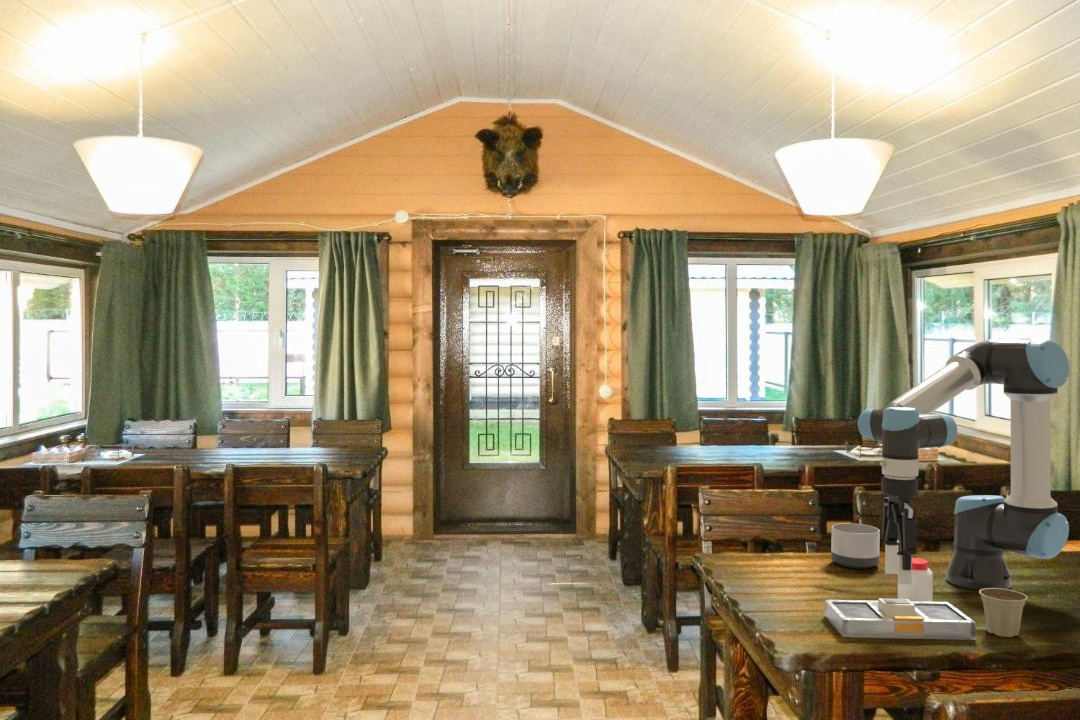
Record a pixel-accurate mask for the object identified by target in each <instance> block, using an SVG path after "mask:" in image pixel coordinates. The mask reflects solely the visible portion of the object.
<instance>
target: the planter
mask: <svg viewBox="0 0 1080 720" xmlns="http://www.w3.org/2000/svg"><path fill="white" fill-rule="evenodd" d="M880 532H881V530H880V529H879V528H877V527H875V526H873V525H868V524H862V523H846V522H845V523H837V524H833V525H832V526H831V541H830V542H831V548H830V553H831V555H830V559H831V560H832V561H833V562H834V563H836V564H838V565H840V566H842V567H844V568H848V569H854V568H855V569H858V570H863V569H864V570H865V569H871V568H873V567H875V566H878V565H879V563H880V545H881V544H880V543H881V542H880V538H881V537H880V536H881V535H880ZM855 569H854V570H855Z"/></svg>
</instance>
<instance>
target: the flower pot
mask: <svg viewBox="0 0 1080 720" xmlns="http://www.w3.org/2000/svg"><path fill="white" fill-rule="evenodd" d="M978 593H979V595H980V598H981V601H982V604H983V612H984V617H985V618H984V619H985V626H986V631H987V632H988V633H989V634H994V635H996V636H998V637H1003V638H1005V637H1006V638H1014V637H1015V636H1016V637H1018V636H1019V635H1020V634H1019V633H1020V627H1021V622H1022V615H1023V610H1024V607H1025V605H1026V601H1028V596H1027V595H1026V594H1025V593H1023V592H1019V591H1017V590H1016V591H1015V590H1012V589H1001V588H985V589H981V590H978Z"/></svg>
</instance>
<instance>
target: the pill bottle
mask: <svg viewBox="0 0 1080 720" xmlns="http://www.w3.org/2000/svg"><path fill="white" fill-rule="evenodd" d="M933 583H934V573H933V571H932V570H931V569H930V568H929V561H928V560H926V559H923V558H920V557H919V558H918V557H912V584H898V583H897V599H908V600H910V601H925V602H934V601H933V599H934V598H933V594H934V593H933V592H934V591H933V590H934V589H933V586H934V584H933Z"/></svg>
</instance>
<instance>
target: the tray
mask: <svg viewBox="0 0 1080 720" xmlns="http://www.w3.org/2000/svg"><path fill="white" fill-rule="evenodd" d="M911 602H912V603H913V604H914V605H915V616H893V619H888V618H887V617H886V616H885V615H884V614H883V613H882V612H881V611H879V610H878V600H871V599H869V600H864V599H863V600H861V599H860V600H859V599H824V616H825V618H826V617H827V618H826V619H827V620H828V622H829V623H830V624H832V626H833V627H834V628H835V630H836V631H837V632H838V633H839V634H840V636H841V637H842V638H857V639H859V638H863V639H865V638H868V639H904V640H905V639H907V640H908V639H909V640H910V639H911V640H918V639H919V640H953V641H954V640H956V641H957V640H959V641H961V640H962V641H967V640H968V641H976V638H977V637H976V632H977V631H976V627H977V623H976V622H975V620H973V619H972V618H970V617H969V616H968V615H966V613H963V611H961V610H959V608H957V607H956V606H954V605H953V604H952V603H951V602H949V601H932V602H925V601H911Z"/></svg>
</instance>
